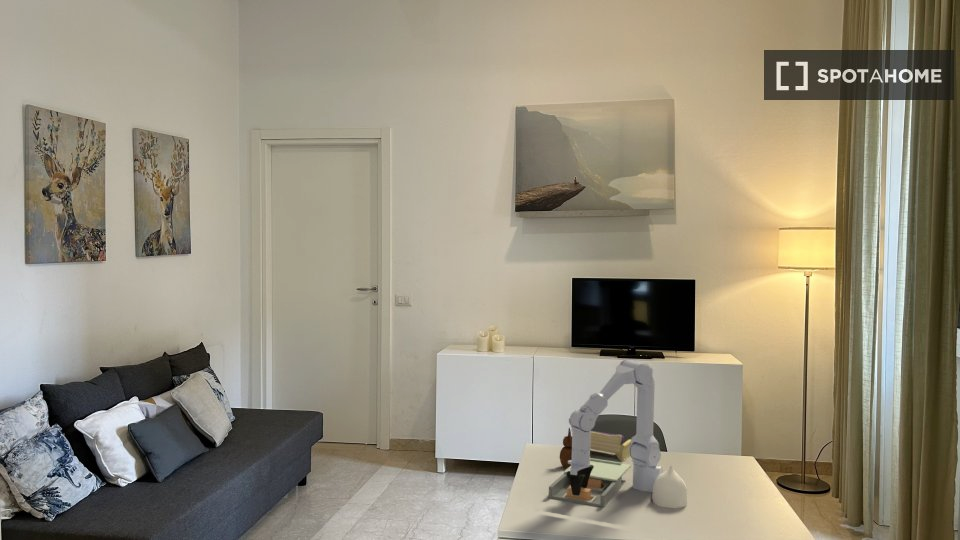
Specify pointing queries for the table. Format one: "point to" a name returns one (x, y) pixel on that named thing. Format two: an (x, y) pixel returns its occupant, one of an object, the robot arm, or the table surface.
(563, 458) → the wooden figurine
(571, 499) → the housing
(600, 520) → the table surface
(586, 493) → the block
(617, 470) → the lid
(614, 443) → the toy sofa
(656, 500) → the teardrop
